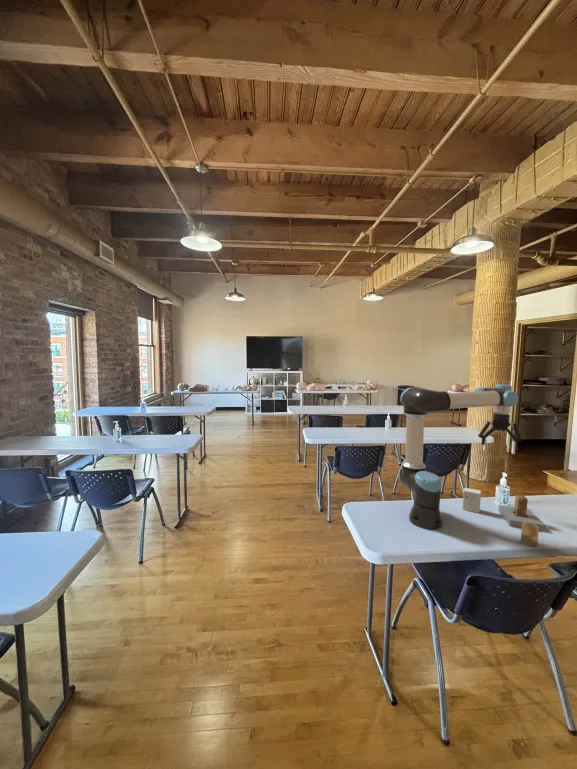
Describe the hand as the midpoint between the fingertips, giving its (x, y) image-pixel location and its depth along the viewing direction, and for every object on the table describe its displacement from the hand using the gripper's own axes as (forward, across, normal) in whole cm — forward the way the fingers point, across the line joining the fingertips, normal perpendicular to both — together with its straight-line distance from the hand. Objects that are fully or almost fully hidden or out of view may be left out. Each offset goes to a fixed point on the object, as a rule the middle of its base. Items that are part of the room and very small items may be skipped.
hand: (498, 452), depth 182 cm
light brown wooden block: (+31, +4, -37) cm, 48 cm away
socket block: (+31, +8, -13) cm, 34 cm away
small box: (+31, -13, -8) cm, 35 cm away
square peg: (+31, +8, -13) cm, 34 cm away
